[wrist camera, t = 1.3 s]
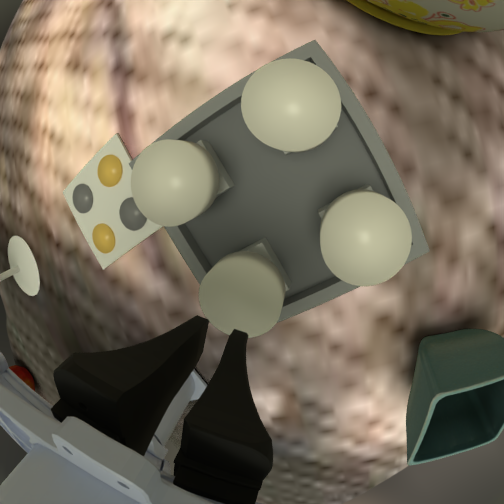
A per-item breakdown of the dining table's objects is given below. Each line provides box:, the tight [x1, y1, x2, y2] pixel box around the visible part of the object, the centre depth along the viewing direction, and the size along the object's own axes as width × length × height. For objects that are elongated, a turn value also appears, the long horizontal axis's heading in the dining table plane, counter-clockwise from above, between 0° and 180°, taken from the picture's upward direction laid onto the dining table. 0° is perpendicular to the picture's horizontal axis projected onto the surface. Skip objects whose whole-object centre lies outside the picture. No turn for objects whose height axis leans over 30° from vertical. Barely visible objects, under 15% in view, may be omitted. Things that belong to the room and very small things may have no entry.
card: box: [63, 133, 163, 270], centre depth 23 cm, size 9×9×1 cm
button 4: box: [131, 139, 219, 227], centre depth 17 cm, size 5×5×4 cm
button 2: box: [241, 59, 341, 152], centre depth 14 cm, size 5×5×4 cm
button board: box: [129, 40, 429, 323], centre depth 19 cm, size 16×16×2 cm
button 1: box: [320, 189, 412, 286], centre depth 16 cm, size 5×5×4 cm
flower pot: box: [406, 329, 504, 465], centre depth 16 cm, size 9×9×9 cm
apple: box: [8, 365, 35, 391], centre depth 34 cm, size 9×9×12 cm
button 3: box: [199, 251, 285, 338], centre depth 18 cm, size 5×5×4 cm
